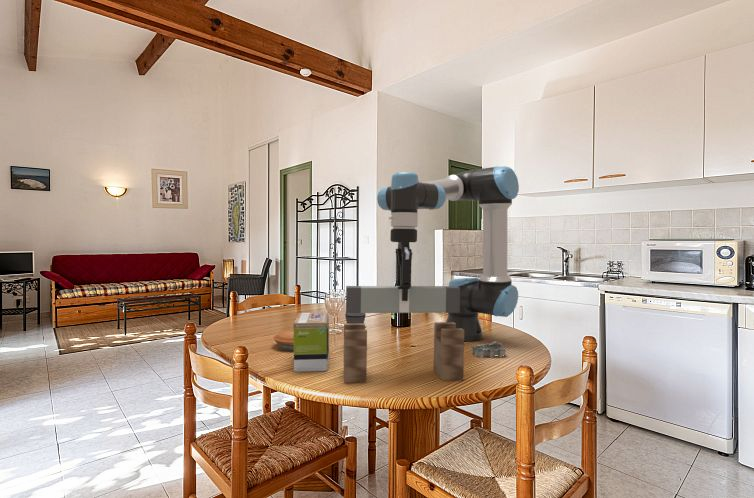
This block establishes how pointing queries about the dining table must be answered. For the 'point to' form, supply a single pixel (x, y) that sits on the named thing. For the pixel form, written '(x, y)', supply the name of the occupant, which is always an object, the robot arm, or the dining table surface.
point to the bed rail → (388, 299)
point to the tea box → (311, 342)
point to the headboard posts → (445, 351)
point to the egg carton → (489, 349)
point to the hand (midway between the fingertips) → (402, 310)
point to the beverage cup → (355, 317)
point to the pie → (285, 340)
